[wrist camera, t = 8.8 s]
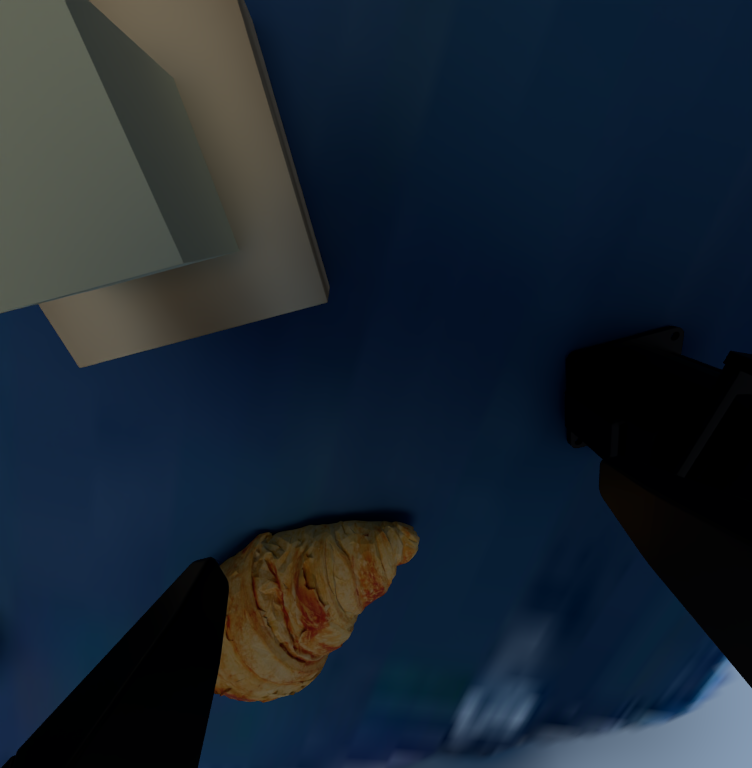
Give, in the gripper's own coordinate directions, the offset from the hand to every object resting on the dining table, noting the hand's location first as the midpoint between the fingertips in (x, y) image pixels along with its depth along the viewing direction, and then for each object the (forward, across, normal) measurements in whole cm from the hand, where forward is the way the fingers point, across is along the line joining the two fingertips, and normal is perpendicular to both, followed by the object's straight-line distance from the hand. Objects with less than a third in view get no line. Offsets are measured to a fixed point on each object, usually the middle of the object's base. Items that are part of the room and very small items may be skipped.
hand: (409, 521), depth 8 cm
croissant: (+12, +10, +15) cm, 22 cm away
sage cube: (+8, +6, -9) cm, 13 cm away
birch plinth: (+12, +6, -9) cm, 16 cm away
